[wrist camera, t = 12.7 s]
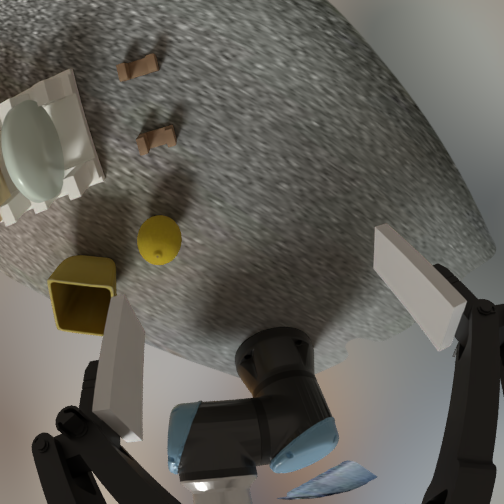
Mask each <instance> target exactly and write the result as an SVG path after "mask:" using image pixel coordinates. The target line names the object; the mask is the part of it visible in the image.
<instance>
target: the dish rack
mask: <svg viewBox="0 0 504 504" xmlns="http://www.w3.org/2000/svg"><path fill="white" fill-rule="evenodd" d="M32 86H33V87H31V88H29V89H27V90H25V91H23V92H21V93H20V94H18V95H16V96H14V97H13V98H9V99H7V100H5V101H4V102H2V103H0V169H1V172H2V174H3V177H4V179H5V182H6V184H7V187H8V189H9V192H10V194H11V197H10V198H8V199H7V200H6V201H5V202H4V203H3V204H2V205H1V206H0V215H1V217H2V219H3V220H2V221H1V222H3V221H4V223H5V225H6V227H7V226H9V225H11V224H13V223H16V222H17V221H18V220H19V218H20V217H21V216H22V215H23V214H24V213H25V212H26V211H28V210H30V209H34V211H35V213H36V214H37V213H39V212H42V211H44V210H47V209H48V208H49V207H50V206H51V204H52V203H53V202H54V201H55V200H56V199H57V198H60V197H62V196H65V195H67V194H68V195H69V198H70V200H73V199H75V198H78V197H81V196H82V195H83V193H84V192H85V190H86V189H87V188H88V187H89V186H92V185H94V184H97V183H100V182H103V181H104V180H105V176H104V173H103V170H102V167H101V164H100V161H99V158H98V155H97V152H96V149H95V146H94V143H93V140H92V137H91V133H90V130H89V127H88V124H87V120H86V117H85V113H84V110H83V106H82V103H81V99H80V96H79V92H78V88H77V84H76V80H75V76H74V72H73V69H68V70H65V71H63V72H61V73H59V74H57V75H55V76H53V77H50V78H48V79H45V80H42V81H40V82H38V83H36V84H34V85H32ZM26 100H33V101H36V102H37V105H38V107H39V106H42V107H43V108H44V109H45V110H46V112H47V113H48V114H49V116H50V118H51V120H52V121H53V124H54V126H55V128H56V130H57V133H58V136H59V139H60V143H61V147H62V152H63V158H64V179H63V186H62V189H61V191H60V193H59V194H58V195H57V196H56V197H54V198H52V199H49V200H47V201H45V202H41V203H36V202H32V201H31V200H29V199H27V198H26V197H25V196H24V195H23V194H22V193H21V192H20V191H19V190H18V189H17V187H16V186H15V184H14V183H13V181H12V179H11V177H10V175H9V173H8V170H7V168H6V165H5V161H4V157H3V152H2V144H1V132H2V126H3V122H4V119H5V116H6V114H7V113H8V111H9V110H10V109H11V108H13V107H14V106H16V105H18V104H20V103H21V102H23V101H26ZM1 222H0V223H1Z"/></svg>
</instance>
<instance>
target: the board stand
mask: <svg viewBox="0 0 504 504" xmlns="http://www.w3.org/2000/svg"><path fill="white" fill-rule="evenodd" d="M145 57H146V58H143V59H139V60H136V61H133V62H130V63H121V64H118V65H116V67H117V71H118V76H119V80H120V82H121V81H127V80H130V79H133V78H136V77H139V76H142V75H145V74H149V73H152V72H155V71H159V67H158V62H157V58H156V55H155V54H154V53H153V54H149V55H146V56H145ZM136 142H137V145H138V148H139V152H140V155H145V154H148V153H149V150H150V148H154V147H157V146H160V145H164V144H168V147H172V146H175V145H176V142H177V139H176V135H175V131H174V127H173V125H169V126H166V127H162V128H159V129H156V130H152V131H149V132H146V133H142V134H139V136H138V137H137V139H136Z"/></svg>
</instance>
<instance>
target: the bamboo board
mask: <svg viewBox="0 0 504 504" xmlns="http://www.w3.org/2000/svg"><path fill="white" fill-rule="evenodd" d="M10 197H11V194H10V192H9V189H8V187H7V184H6V182H5V179H4V177H3V174H2V172H1V169H0V206H1V205H2V204H3V203H4V202H5V201H6V200H7V199H8V198H10ZM2 220H3V219H2V217H1V215H0V222H1V221H2Z"/></svg>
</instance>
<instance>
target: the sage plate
mask: <svg viewBox="0 0 504 504" xmlns="http://www.w3.org/2000/svg"><path fill="white" fill-rule="evenodd" d="M1 144H2V152H3V157H4V161H5V165H6V168H7V170H8V173H9V175H10V177H11V179H12V181H13V183H14V184H15V186H16V187H17V189H18V190H19V191H20V192H21V193H22V194H23V195H24V196H25V197H26V198H27V199H29V200H31V201H32V202H36V203H41V202H45V201H47V200H49V199H52V198H54V197H56V196H57V195H58V194H59V193H60V191H61V189H62V186H63V179H64V158H63V152H62V147H61V143H60V139H59V136H58V133H57V130H56V128H55V126H54V124H53V121H52V120H51V118H50V116H49V114H48V113H47V112H46V110H45V109H44V108H43V107H42V106H39V107H38V105H37V102H36V101H33V100H26V101H23V102H21V103H20V104H18V105H16V106H14V107H13V108H11V109H10V110H9V111H8V113H7V114H6V116H5V119H4V122H3V126H2V132H1Z"/></svg>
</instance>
